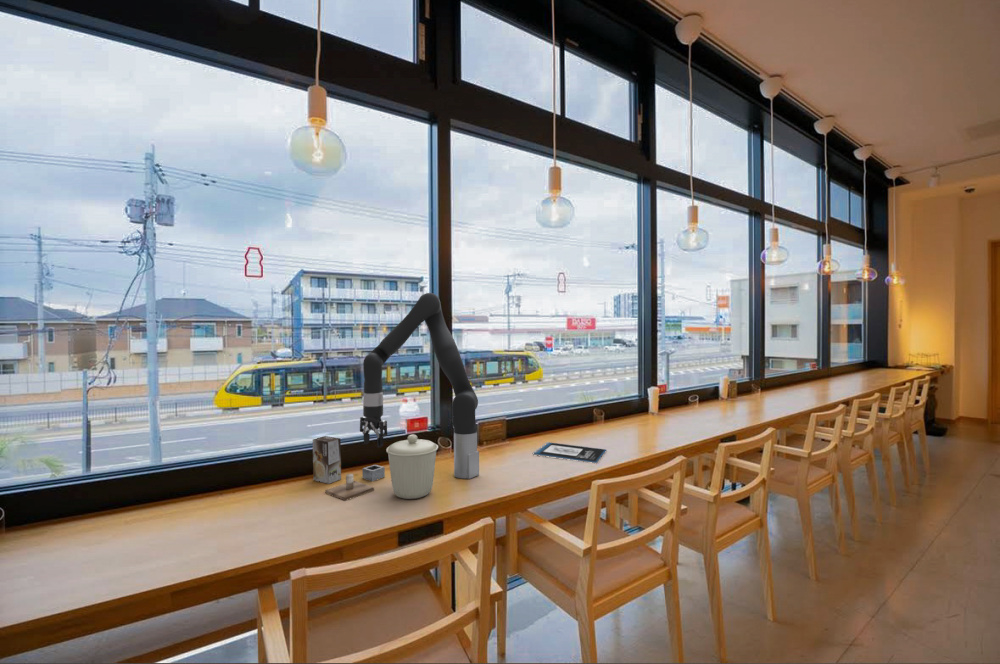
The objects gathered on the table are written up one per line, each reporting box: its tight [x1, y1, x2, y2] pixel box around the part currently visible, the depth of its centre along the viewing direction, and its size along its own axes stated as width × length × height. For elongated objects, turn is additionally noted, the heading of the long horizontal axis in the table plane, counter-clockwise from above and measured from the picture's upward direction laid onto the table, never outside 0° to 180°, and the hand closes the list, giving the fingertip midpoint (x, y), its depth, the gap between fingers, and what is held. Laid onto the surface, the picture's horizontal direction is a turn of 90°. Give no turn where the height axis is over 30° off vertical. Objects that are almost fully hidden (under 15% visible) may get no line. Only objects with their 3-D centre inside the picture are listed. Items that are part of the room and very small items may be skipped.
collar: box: [361, 464, 386, 482], centre depth 171 cm, size 6×6×4 cm
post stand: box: [324, 473, 375, 501], centre depth 156 cm, size 12×12×6 cm
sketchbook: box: [532, 441, 607, 464], centre depth 204 cm, size 22×30×2 cm
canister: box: [385, 434, 439, 500], centre depth 154 cm, size 18×18×21 cm
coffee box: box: [312, 435, 342, 484], centre depth 169 cm, size 9×6×16 cm
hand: (373, 445), depth 171 cm, fingers open, 8 cm apart
